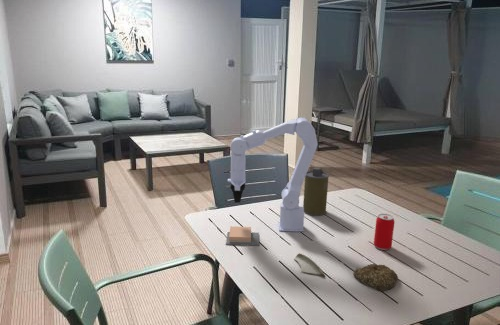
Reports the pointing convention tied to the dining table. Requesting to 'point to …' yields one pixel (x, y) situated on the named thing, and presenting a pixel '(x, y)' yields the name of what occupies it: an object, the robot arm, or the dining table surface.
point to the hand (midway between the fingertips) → (237, 201)
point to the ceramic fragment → (308, 265)
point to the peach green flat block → (240, 234)
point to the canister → (315, 192)
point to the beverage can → (384, 231)
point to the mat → (253, 242)
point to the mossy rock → (376, 276)
